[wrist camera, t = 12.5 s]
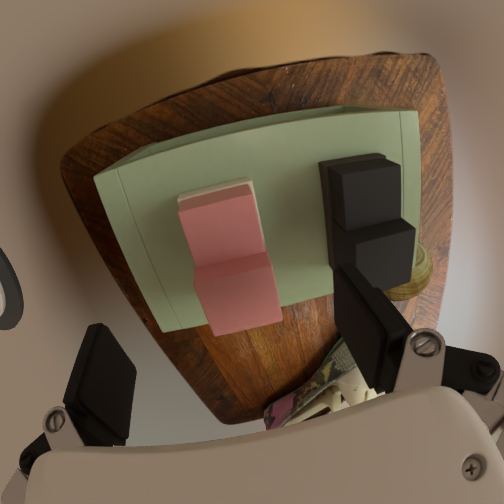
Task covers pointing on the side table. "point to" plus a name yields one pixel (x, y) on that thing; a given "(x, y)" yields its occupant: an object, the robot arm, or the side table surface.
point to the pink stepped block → (229, 256)
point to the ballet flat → (322, 391)
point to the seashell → (414, 277)
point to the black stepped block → (367, 218)
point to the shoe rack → (266, 192)
